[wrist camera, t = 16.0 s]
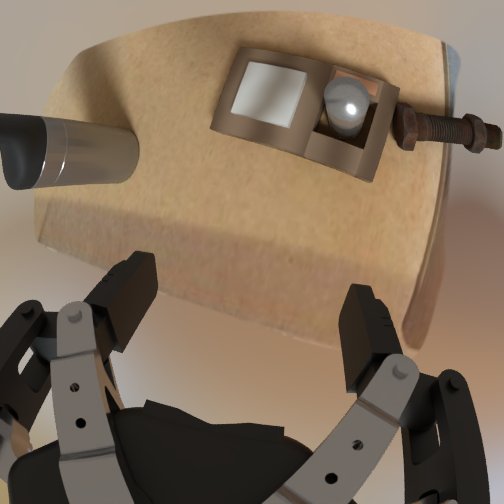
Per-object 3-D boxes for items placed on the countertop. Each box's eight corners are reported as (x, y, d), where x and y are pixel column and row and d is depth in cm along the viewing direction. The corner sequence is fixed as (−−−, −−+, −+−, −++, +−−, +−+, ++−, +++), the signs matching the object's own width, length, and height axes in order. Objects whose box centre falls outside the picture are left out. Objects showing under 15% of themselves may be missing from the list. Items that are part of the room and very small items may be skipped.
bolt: (486, 147, 25) (391, 137, 29) (489, 112, 21) (391, 99, 26) (506, 165, 20) (404, 155, 25) (512, 127, 17) (405, 110, 21)
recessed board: (219, 133, 34) (205, 127, 30) (247, 56, 30) (237, 43, 27) (369, 183, 30) (373, 181, 26) (395, 96, 26) (401, 85, 22)
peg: (325, 132, 30) (318, 108, 21) (334, 104, 29) (330, 71, 20) (356, 144, 29) (363, 124, 20) (365, 115, 28) (374, 85, 19)
